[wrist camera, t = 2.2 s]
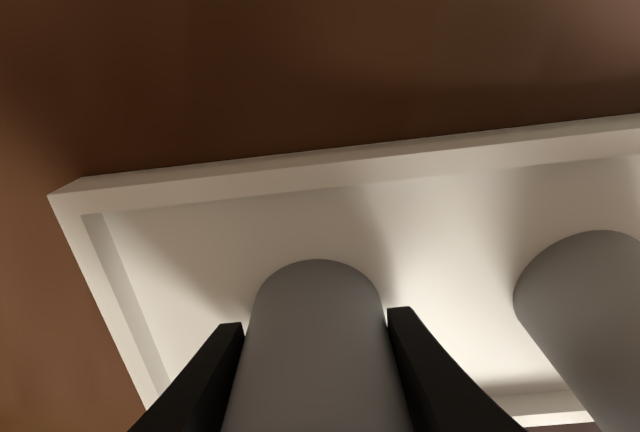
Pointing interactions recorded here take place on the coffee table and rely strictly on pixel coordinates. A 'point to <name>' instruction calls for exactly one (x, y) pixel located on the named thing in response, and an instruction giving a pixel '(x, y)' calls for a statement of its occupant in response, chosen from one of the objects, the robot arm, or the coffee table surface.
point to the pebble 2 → (589, 321)
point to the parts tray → (358, 241)
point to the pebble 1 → (317, 357)
